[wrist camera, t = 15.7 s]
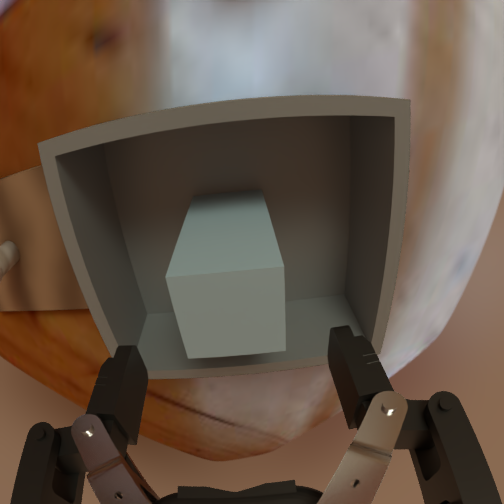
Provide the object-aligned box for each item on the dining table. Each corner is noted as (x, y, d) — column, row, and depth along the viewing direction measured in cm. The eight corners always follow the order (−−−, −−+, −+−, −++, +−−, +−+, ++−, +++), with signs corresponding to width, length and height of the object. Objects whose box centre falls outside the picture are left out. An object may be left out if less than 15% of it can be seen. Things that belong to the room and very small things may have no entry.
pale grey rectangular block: (193, 196, 23) (165, 277, 13) (261, 189, 23) (284, 266, 13) (202, 256, 25) (188, 358, 15) (265, 250, 25) (285, 350, 15)
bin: (142, 316, 29) (123, 378, 22) (93, 125, 20) (37, 143, 13) (350, 295, 29) (380, 353, 22) (356, 95, 21) (410, 99, 14)
